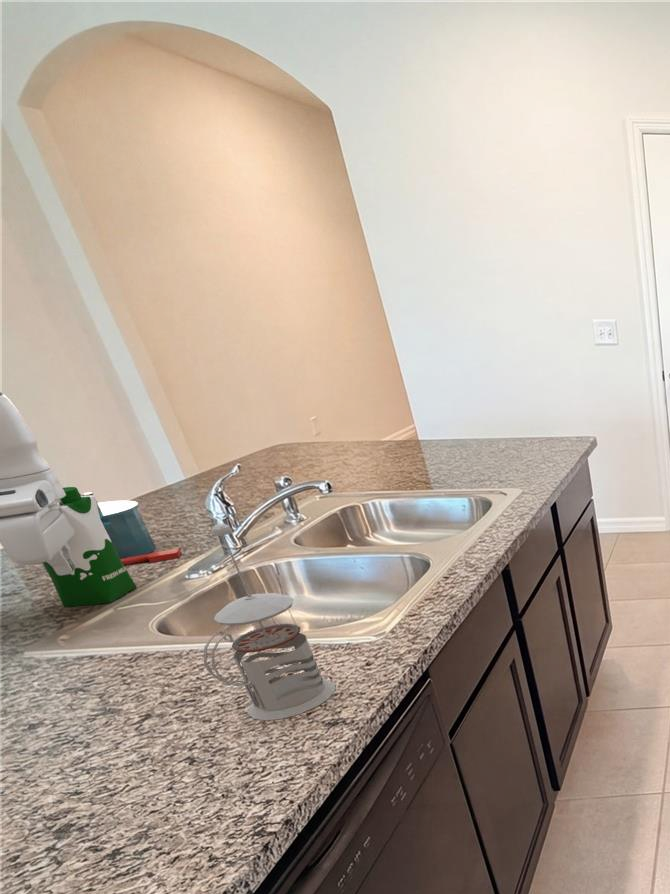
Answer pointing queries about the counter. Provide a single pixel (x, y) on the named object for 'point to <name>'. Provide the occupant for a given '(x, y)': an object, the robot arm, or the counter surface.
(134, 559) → the red long bar
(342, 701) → the counter surface
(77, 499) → the milk carton
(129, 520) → the pot
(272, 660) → the french press
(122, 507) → the white round shallow piece
